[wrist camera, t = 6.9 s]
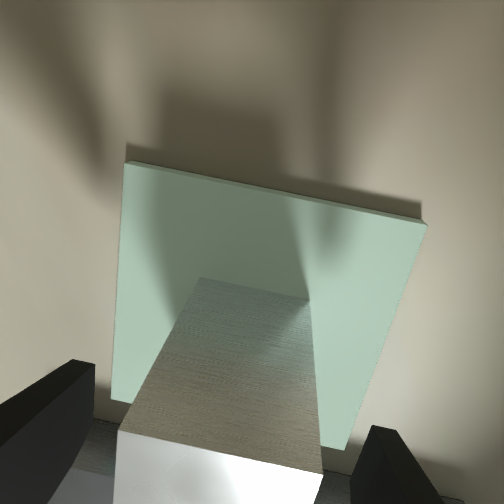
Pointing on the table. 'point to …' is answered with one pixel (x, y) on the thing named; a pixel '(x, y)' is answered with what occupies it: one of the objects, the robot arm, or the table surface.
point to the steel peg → (226, 406)
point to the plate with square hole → (103, 474)
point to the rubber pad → (260, 273)
